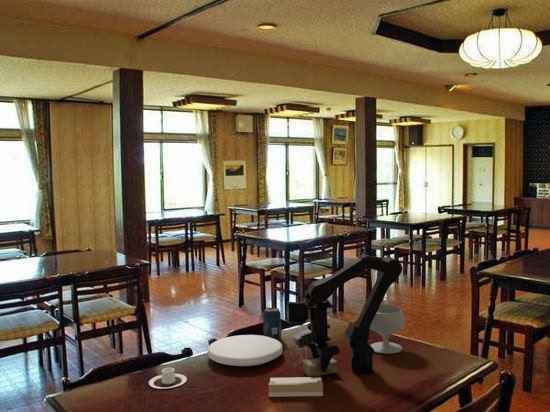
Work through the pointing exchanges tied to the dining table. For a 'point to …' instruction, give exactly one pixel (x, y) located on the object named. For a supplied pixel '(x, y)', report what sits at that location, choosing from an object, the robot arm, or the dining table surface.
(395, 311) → the chalice
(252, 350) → the white thick flat disc
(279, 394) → the wall board
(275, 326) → the soda can
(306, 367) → the frame
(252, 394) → the dining table surface
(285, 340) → the dining table surface
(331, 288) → the robot arm
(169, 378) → the candle holder
